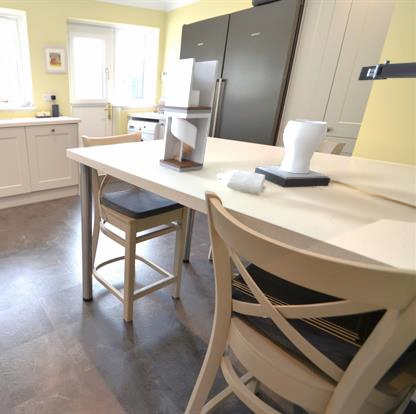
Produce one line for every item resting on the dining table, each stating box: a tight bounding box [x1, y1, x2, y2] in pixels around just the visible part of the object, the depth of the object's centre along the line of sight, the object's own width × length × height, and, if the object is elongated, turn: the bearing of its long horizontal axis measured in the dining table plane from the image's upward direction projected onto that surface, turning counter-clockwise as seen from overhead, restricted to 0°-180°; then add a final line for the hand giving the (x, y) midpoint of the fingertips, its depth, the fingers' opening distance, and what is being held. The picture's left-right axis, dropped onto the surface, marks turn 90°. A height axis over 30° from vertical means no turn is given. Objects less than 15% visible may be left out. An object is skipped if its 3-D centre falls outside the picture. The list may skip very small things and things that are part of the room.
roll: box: [216, 169, 266, 196], centre depth 80 cm, size 6×12×6 cm, turn 55°
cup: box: [280, 119, 328, 174], centre depth 87 cm, size 11×11×15 cm
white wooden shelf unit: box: [158, 57, 220, 173], centre depth 98 cm, size 11×11×35 cm
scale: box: [254, 165, 331, 188], centre depth 91 cm, size 16×14×3 cm
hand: (393, 74), depth 63 cm, fingers open, 13 cm apart
